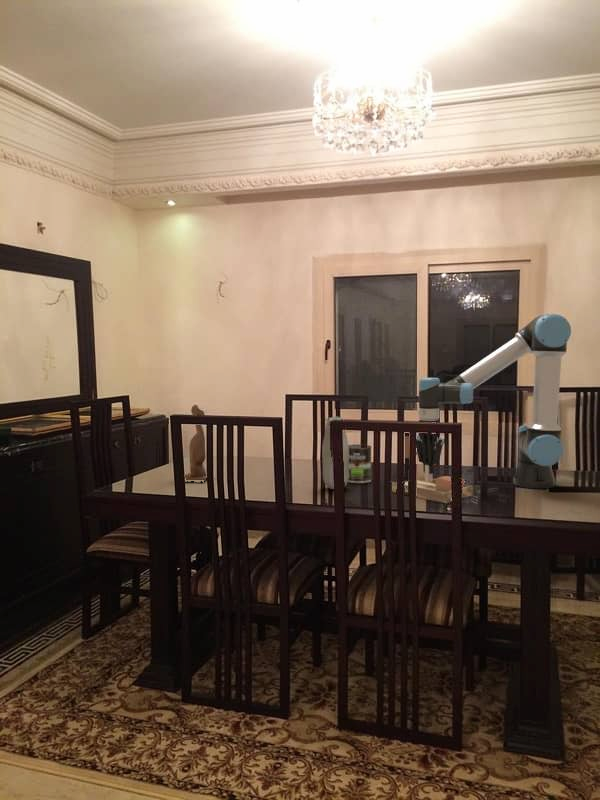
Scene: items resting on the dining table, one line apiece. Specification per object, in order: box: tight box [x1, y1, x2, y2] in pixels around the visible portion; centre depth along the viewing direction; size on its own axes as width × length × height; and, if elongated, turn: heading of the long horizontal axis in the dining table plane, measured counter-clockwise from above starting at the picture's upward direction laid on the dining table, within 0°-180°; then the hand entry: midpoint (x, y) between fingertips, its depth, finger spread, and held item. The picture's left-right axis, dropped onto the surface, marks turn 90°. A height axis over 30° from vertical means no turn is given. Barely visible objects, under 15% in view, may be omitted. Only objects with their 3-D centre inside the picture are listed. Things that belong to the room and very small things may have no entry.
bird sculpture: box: [184, 404, 207, 481], centre depth 261 cm, size 11×12×32 cm
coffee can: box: [348, 444, 372, 484], centre depth 255 cm, size 10×10×14 cm
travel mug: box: [404, 433, 418, 479], centre depth 260 cm, size 8×8×20 cm
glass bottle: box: [321, 416, 349, 490], centre depth 241 cm, size 10×10×28 cm
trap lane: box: [391, 475, 474, 504], centre depth 232 cm, size 16×26×4 cm, turn 41°
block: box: [435, 475, 465, 492], centre depth 228 cm, size 6×8×4 cm
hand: (428, 481), depth 235 cm, fingers closed
